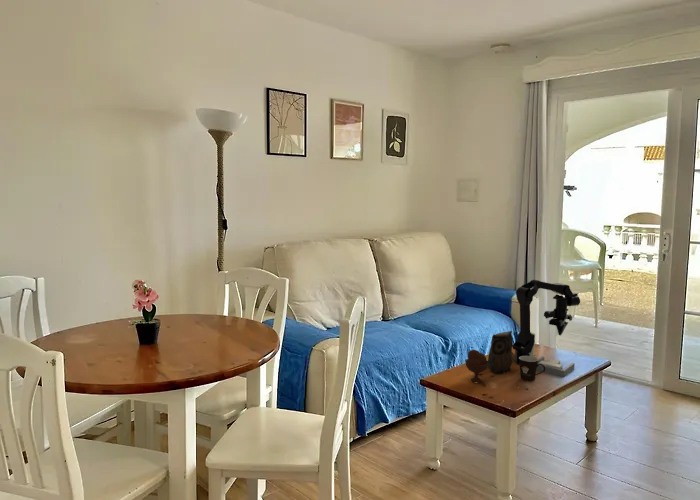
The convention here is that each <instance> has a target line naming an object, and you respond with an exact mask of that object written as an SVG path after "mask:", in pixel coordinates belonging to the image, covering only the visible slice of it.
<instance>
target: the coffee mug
mask: <svg viewBox="0 0 700 500" xmlns="http://www.w3.org/2000/svg"><path fill="white" fill-rule="evenodd" d="M538 359H539V358H537V357H535V356H520V357H519V364H518V365H519V375H520V380H522V381H525V382H534V381H535V380H536V376H537V375H540V374H542V373H544V371H545V366H544V365H543V364H538ZM539 365H542V366H543V367H544V370H543V371H542V372H540V371H539V372H537V371H536V369H537V367H538V366H539Z"/></svg>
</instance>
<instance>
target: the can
mask: <svg viewBox="0 0 700 500" xmlns="http://www.w3.org/2000/svg"><path fill="white" fill-rule="evenodd" d="M519 332H520V331H518V332H517V335H518V334H519ZM530 332H531V331H530ZM531 334H533V335H534V336H535V338H534V340H535V342H534V346H533V348H532V351H531V353H529V354H530V356H532V357H535V345H536V344H535V343H536V333H534V332H531ZM521 348H524V347H521Z"/></svg>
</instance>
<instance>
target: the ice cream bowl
mask: <svg viewBox="0 0 700 500" xmlns="http://www.w3.org/2000/svg"><path fill="white" fill-rule="evenodd" d="M467 357H468V358H467V359H464V360H465V361H464V362H465V367H466V368H467V369H468V370H469V371H470V372H472V373H474V377H472V378H470V380H471V381H472V382H471V381H470V382H471V383H473V382H481V383H482V382H483V380H482V379H481V378H480V377H479V374H480V373H483V372H485V371H486V370H487V369H489V368H488V365H489V362H488V358H487V356H485V354H484V353H482V352H480V351H479V350H476V349H471V350H470V351H468V353H467Z"/></svg>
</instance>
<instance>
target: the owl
mask: <svg viewBox="0 0 700 500" xmlns="http://www.w3.org/2000/svg"><path fill="white" fill-rule="evenodd" d="M512 332H513V331H512V330H509V331H504V332H503V331H502V332H498V333H496V334H493V335H492V337H491V342H490V343H491V345H490V348H489V351H488V352H489V353H488V358H487V361H488V362H489V365H488V368H487V369H489V371H490V373H491V374H493V375H503V374H507V373H510V372H511V370H512V369H511V367H512V365H513V361H514V360H513V359H514V353H513V344H514V338H513V334H512Z"/></svg>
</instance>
